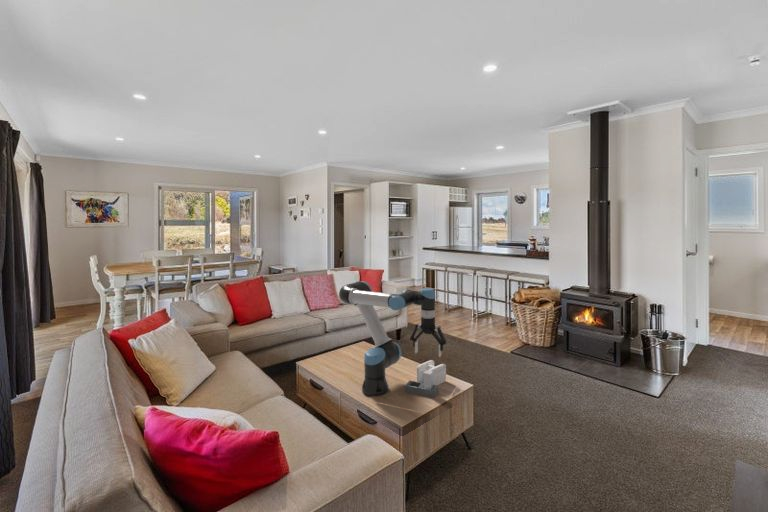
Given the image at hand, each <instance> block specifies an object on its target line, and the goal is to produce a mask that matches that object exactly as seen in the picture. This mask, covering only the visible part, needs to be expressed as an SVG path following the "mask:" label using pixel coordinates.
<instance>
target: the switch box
mask: <svg viewBox="0 0 768 512" xmlns="http://www.w3.org/2000/svg"><path fill="white" fill-rule="evenodd" d="M404 390H405V391H404V392H406V393H411V394H415V395H422V396H426V397H431V398H435V397H436V396H437V394H438V393H439V385H433V389H432V390H430V389H425V388H424V382H423V383H421V382H417V381H415V380H408V381H407V383H406V384H405V385H404Z"/></svg>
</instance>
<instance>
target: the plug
mask: <svg viewBox="0 0 768 512" xmlns="http://www.w3.org/2000/svg"><path fill="white" fill-rule="evenodd" d="M423 383H424V388H425V389H430V390H432V389H433V371H427V370H426V371H425V372H424V382H423Z"/></svg>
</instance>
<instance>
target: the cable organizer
mask: <svg viewBox="0 0 768 512" xmlns="http://www.w3.org/2000/svg"><path fill="white" fill-rule="evenodd" d="M426 370H427V371H433V385H437V386H439V385H441V384H443V383H445V381H447V365H446V363H441V364H438V365H436V366H435V361H434V360H433V359H430V360H427V361H425V362H422V363H420V364H418V365H417V367H416V382H421V383H424V372H425V371H426Z"/></svg>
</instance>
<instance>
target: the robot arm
mask: <svg viewBox="0 0 768 512" xmlns="http://www.w3.org/2000/svg"><path fill="white" fill-rule="evenodd" d="M338 293H339V294H338V297H339V300H340V301H341V302H342V303H343V304H346V305H352V306H354V308H357V309H358V310H359V312H360V314H361V316H362V318H363V320H364V323H365V325H366V327H367V329H368V331H369V334H370V336H371V338H372V339H373V342H374V347H371V348H369V349H367V350H366V351H365V352H364V358H363V361H364V362H363V363H364V379H363V382H362V387H361V392H362V393H363V395H364V396H367V397H381V396H384V395H385V394H387V393H388V392H389V390H390V389H389V387H390V386H389V384H388V381H387V377H386V369H388V368H389V367H391V366H393V365H395V364H396V363H397V362H398V361H400V359H401V357H402V349H401V346H400V345H399V344H398V343H396V342H395V341H393V338H390V337H389V336H388V334H387V332H386V330H385V328H384V326H383V324H382V322H381V320H380V317H379V315H378V314H377V311H376V309H375V307H382V308H390V309H391V310H392V311H401V310H403V309H405V308H406V307H410V306H412V305H417V306H420V315H421V317H420V324H419V323H417V324H415V325H414V326H415V328H414V330H413V332H412V334H411V336H410V338H409V340H410V341H412V343H413V346H412V347H413V348H414V354H417V353H418V351H419V349H418V348H419V347H418V345H419V340H418V339H419V338H420V337H421V336H422V334H425V335H427V334H428V335H432V336H433V337H434V339H435V340H436V342H438V344H439V345H438V358H441V356H442V352H443V350H444V345H446V344H447V342H448V341H447V340H446V338H445V335H444V333H443V331H442V327H441V325H439V326H436V291H435V289H434V288H431V287H424V288H421V290H419V291H418V290H414V289H404V290H402V292H401V293H397V294H396V293H388V292H379V291H373V290H372V287H371V285H370V284H369V283H368V282H366V281H362V280H360V281H356V282H352V283H348V284H347V283H346V284H344V285H343V286H342V287H341V288H339V292H338ZM374 306H375V307H374ZM419 329H420V332H419V333H418V330H419ZM436 331H437V332H436ZM417 333H418V334H417ZM415 335H416V336H415Z"/></svg>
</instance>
